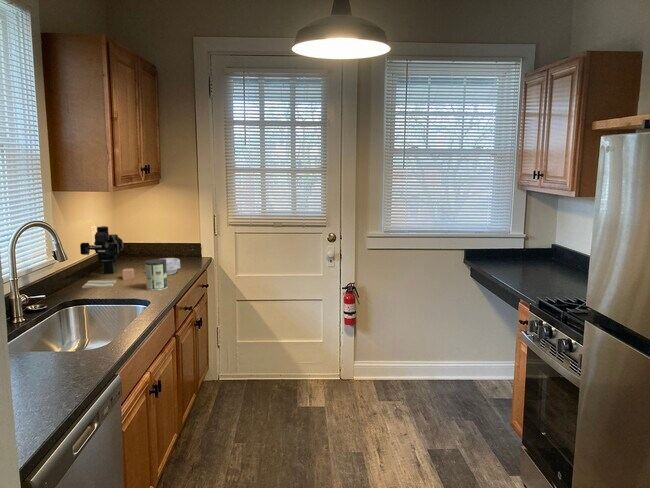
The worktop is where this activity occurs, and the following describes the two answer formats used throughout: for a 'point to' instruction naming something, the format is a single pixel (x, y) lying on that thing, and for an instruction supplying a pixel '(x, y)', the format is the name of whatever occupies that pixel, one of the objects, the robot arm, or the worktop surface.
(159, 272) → the coffee can
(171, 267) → the paper bowls
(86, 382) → the worktop surface
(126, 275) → the terracotta cube
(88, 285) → the striped cloth
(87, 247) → the robot arm
